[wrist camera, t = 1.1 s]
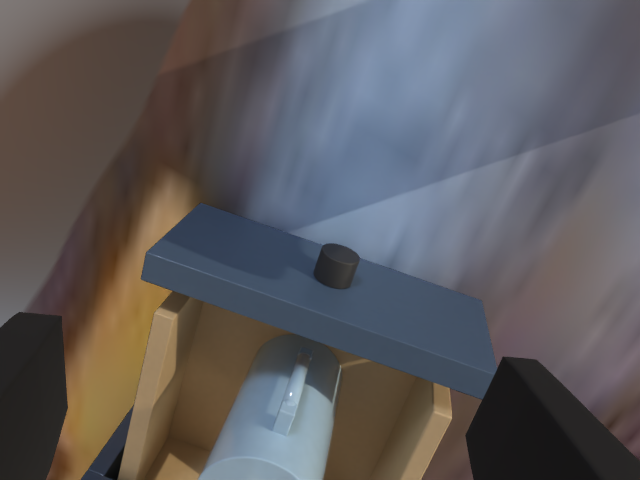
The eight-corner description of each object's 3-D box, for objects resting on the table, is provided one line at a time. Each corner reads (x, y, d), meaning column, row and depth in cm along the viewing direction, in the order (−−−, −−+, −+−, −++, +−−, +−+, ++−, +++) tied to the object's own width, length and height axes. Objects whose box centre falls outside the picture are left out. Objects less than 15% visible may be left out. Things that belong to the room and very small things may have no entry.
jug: (271, 301, 26) (215, 415, 19) (363, 333, 26) (343, 460, 19) (239, 402, 29) (179, 538, 21) (323, 432, 29) (291, 579, 21)
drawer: (206, 178, 26) (151, 222, 20) (493, 277, 25) (513, 349, 20) (148, 423, 32) (94, 508, 26) (381, 507, 31) (374, 609, 26)
